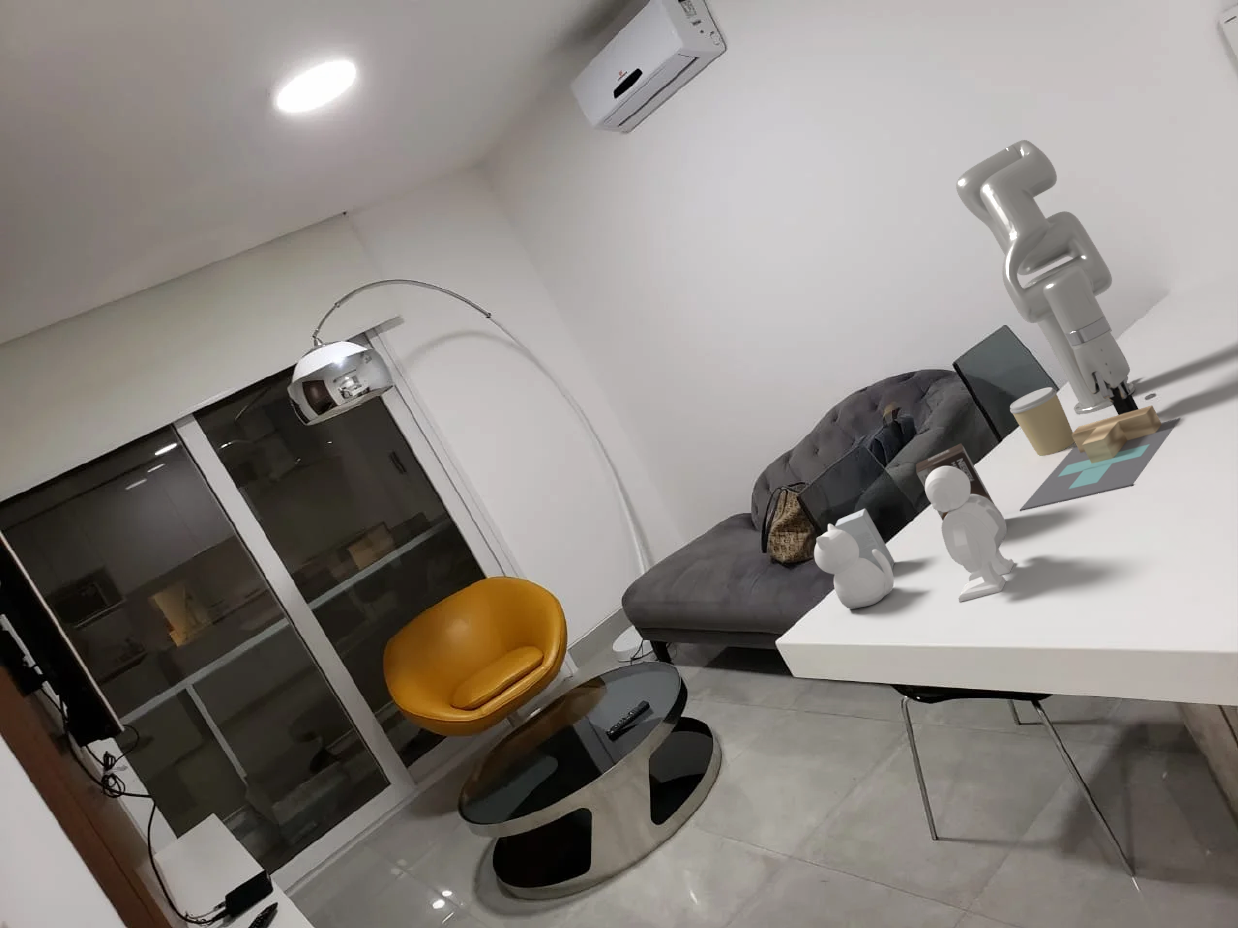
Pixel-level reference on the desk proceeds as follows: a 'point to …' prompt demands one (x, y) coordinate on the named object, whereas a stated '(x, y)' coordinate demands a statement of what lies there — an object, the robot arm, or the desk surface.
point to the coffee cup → (1043, 421)
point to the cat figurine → (852, 569)
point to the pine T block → (1114, 433)
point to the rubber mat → (1112, 479)
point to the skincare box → (865, 536)
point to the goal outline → (1098, 467)
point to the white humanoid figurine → (970, 531)
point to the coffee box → (955, 459)
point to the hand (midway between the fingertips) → (1130, 416)
